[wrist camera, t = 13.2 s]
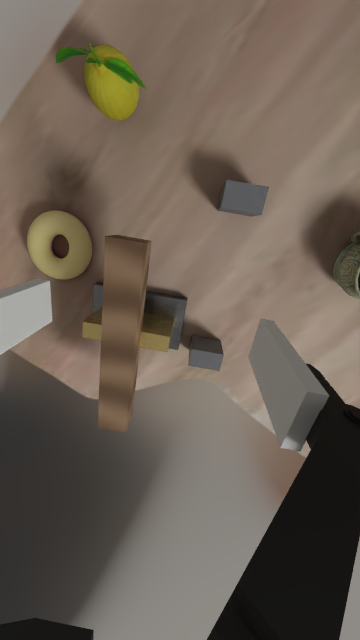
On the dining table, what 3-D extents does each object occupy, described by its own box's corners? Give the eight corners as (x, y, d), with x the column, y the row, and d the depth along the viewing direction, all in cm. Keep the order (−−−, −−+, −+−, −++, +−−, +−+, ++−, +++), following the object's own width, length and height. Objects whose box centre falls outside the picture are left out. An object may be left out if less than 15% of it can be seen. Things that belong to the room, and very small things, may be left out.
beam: (117, 235, 27) (105, 236, 23) (151, 240, 27) (144, 243, 23) (107, 407, 37) (97, 427, 33) (132, 411, 37) (125, 432, 33)
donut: (38, 251, 39) (82, 286, 39) (14, 255, 35) (62, 294, 35) (57, 197, 34) (107, 237, 35) (31, 194, 30) (87, 240, 31)
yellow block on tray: (97, 282, 38) (71, 296, 30) (187, 298, 38) (185, 316, 30) (96, 331, 41) (72, 355, 33) (178, 345, 41) (174, 373, 33)
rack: (222, 186, 32) (226, 179, 27) (258, 192, 32) (268, 186, 27) (189, 350, 41) (188, 365, 37) (216, 354, 41) (219, 370, 37)
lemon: (86, 98, 29) (35, 38, 20) (118, 55, 27) (79, -32, 18) (124, 146, 31) (93, 111, 21) (156, 109, 29) (138, 53, 20)
